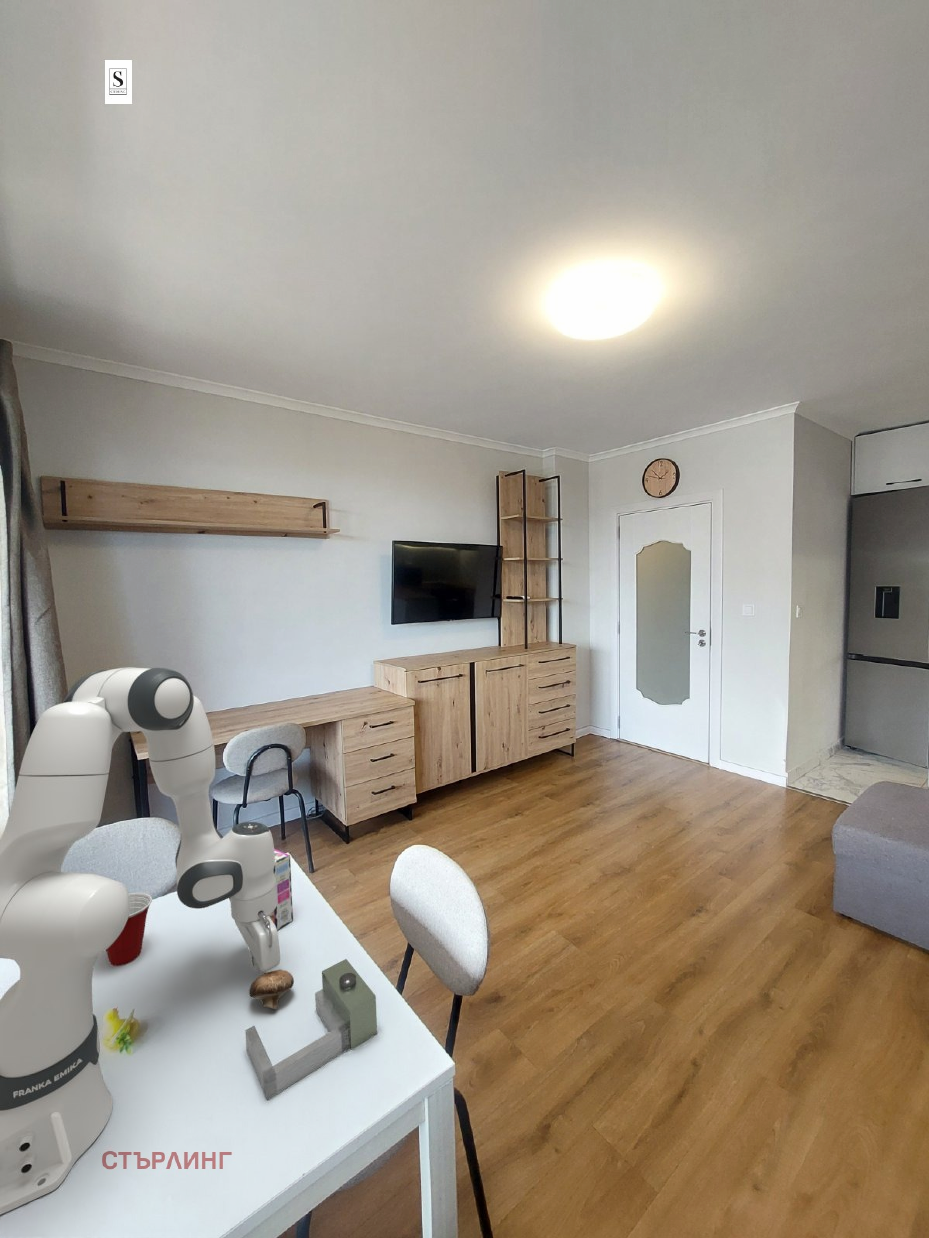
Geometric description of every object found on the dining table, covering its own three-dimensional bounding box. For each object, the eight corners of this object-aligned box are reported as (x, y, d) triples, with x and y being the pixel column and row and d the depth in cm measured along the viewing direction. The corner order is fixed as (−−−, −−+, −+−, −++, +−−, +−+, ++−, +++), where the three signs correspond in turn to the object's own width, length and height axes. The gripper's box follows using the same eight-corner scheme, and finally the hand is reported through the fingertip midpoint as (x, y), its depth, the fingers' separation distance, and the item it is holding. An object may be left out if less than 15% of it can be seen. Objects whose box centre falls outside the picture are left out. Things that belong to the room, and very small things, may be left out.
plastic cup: (163, 952, 112) (159, 900, 112) (106, 982, 104) (102, 926, 103) (145, 933, 119) (141, 883, 119) (90, 959, 111) (86, 906, 110)
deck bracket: (268, 1102, 78) (265, 1054, 78) (246, 1049, 87) (244, 1006, 87) (377, 1033, 90) (375, 991, 89) (347, 992, 99) (346, 954, 99)
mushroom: (275, 1009, 92) (273, 969, 95) (239, 1019, 93) (239, 979, 97) (303, 1000, 98) (300, 962, 102) (269, 1010, 100) (268, 972, 103)
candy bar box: (294, 920, 122) (291, 854, 121) (276, 932, 118) (273, 864, 117) (267, 905, 128) (263, 842, 128) (249, 915, 124) (245, 851, 124)
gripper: (286, 918, 98) (290, 986, 99) (255, 875, 114) (258, 934, 115) (253, 933, 94) (256, 1003, 95) (225, 885, 110) (229, 946, 111)
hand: (257, 965), depth 105 cm, fingers closed
